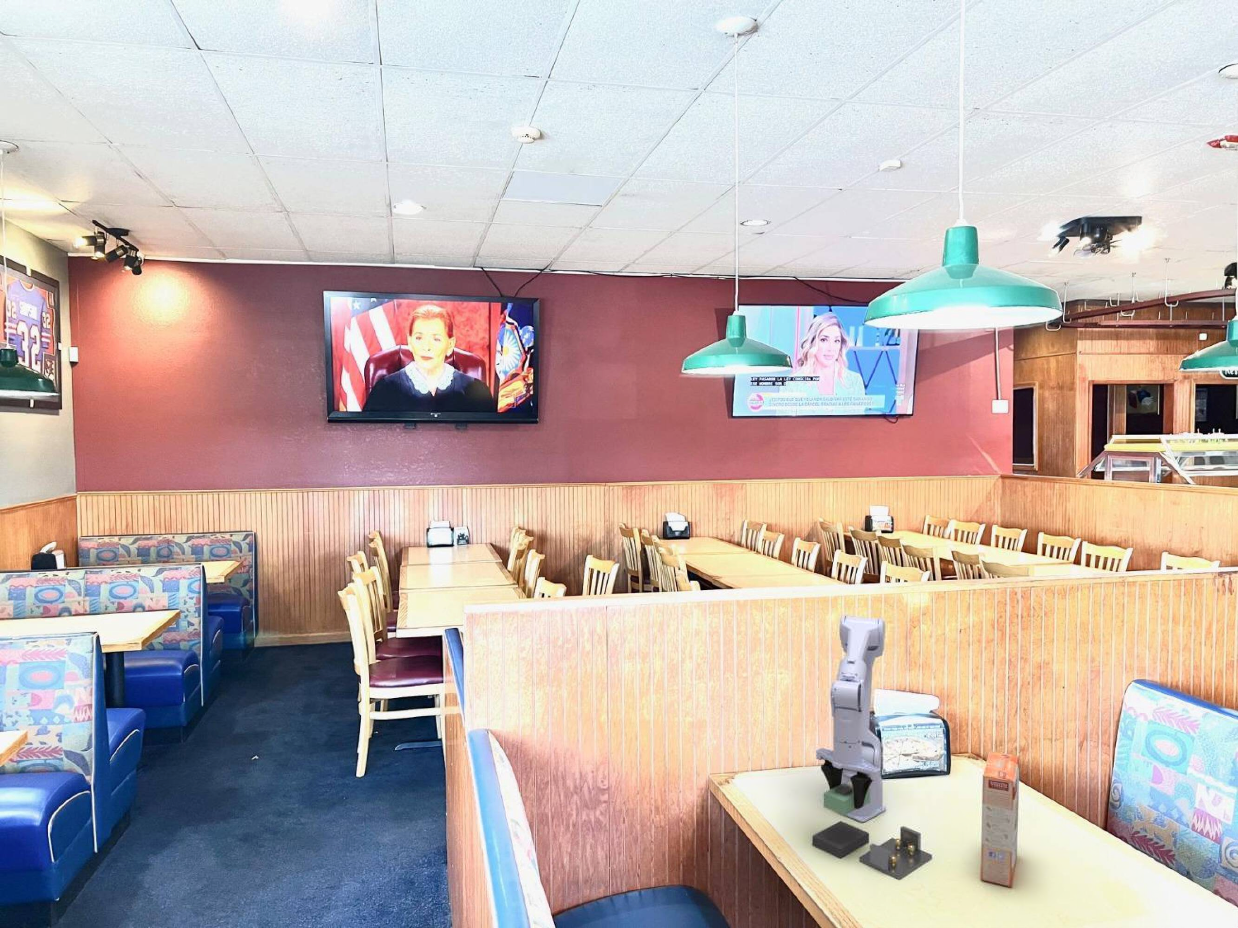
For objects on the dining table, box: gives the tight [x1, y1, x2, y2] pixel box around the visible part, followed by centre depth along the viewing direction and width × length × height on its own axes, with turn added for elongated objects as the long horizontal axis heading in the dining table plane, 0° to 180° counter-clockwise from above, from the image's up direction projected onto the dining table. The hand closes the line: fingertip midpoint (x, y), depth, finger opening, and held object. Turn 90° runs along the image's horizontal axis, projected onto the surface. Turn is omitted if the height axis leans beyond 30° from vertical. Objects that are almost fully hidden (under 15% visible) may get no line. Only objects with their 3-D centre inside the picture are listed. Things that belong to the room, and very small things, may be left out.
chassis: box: [858, 825, 933, 881], centre depth 163 cm, size 12×9×4 cm
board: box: [823, 781, 870, 816], centre depth 169 cm, size 9×5×4 cm, turn 129°
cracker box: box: [980, 750, 1020, 888], centre depth 160 cm, size 14×6×21 cm, turn 150°
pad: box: [811, 820, 870, 859], centre depth 170 cm, size 10×7×2 cm
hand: (847, 802), depth 169 cm, fingers closed on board, 5 cm apart
